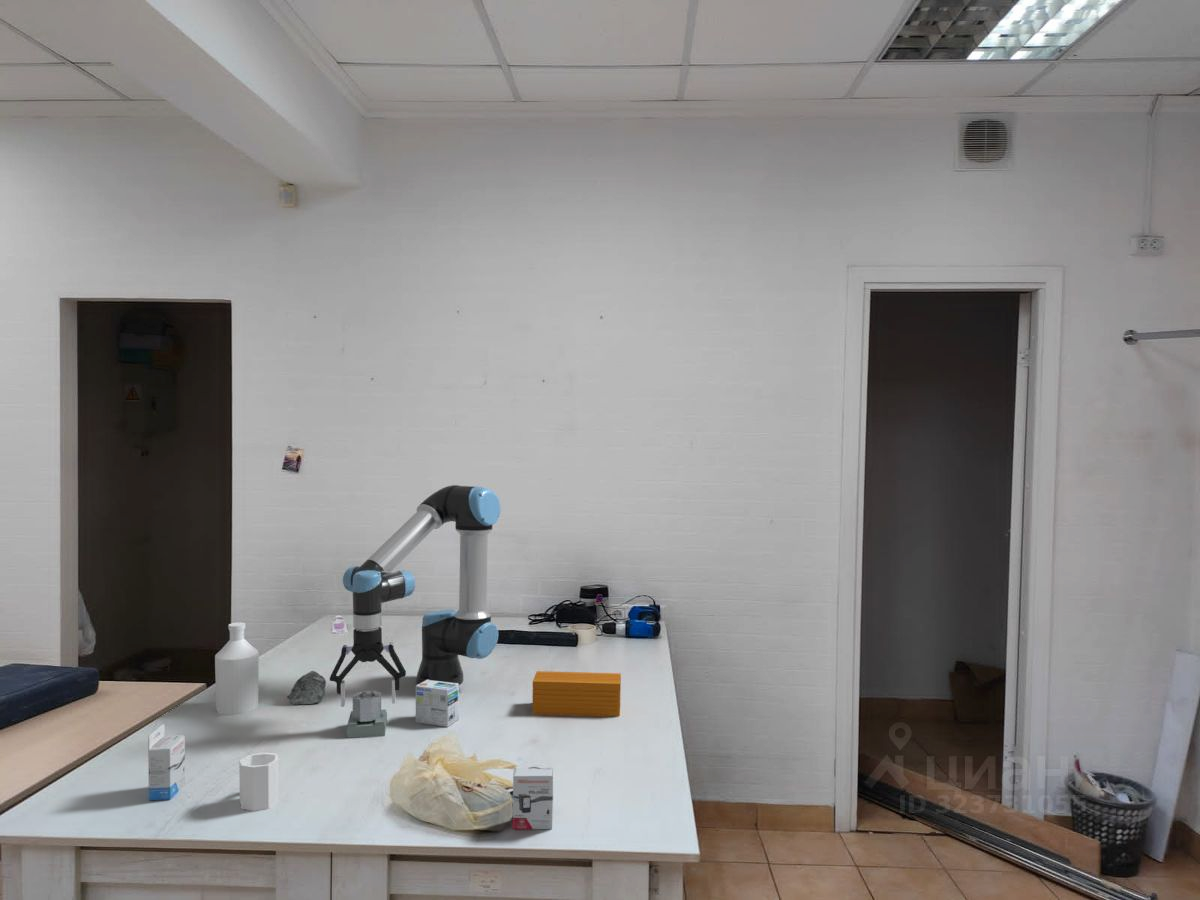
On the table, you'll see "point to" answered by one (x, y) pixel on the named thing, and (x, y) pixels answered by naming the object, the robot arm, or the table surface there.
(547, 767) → the ink box
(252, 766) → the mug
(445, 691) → the light bulb box
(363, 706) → the hub
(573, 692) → the brick
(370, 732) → the pillow block
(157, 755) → the ink box
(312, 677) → the stone
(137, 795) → the table surface
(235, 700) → the bottle
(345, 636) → the table surface
